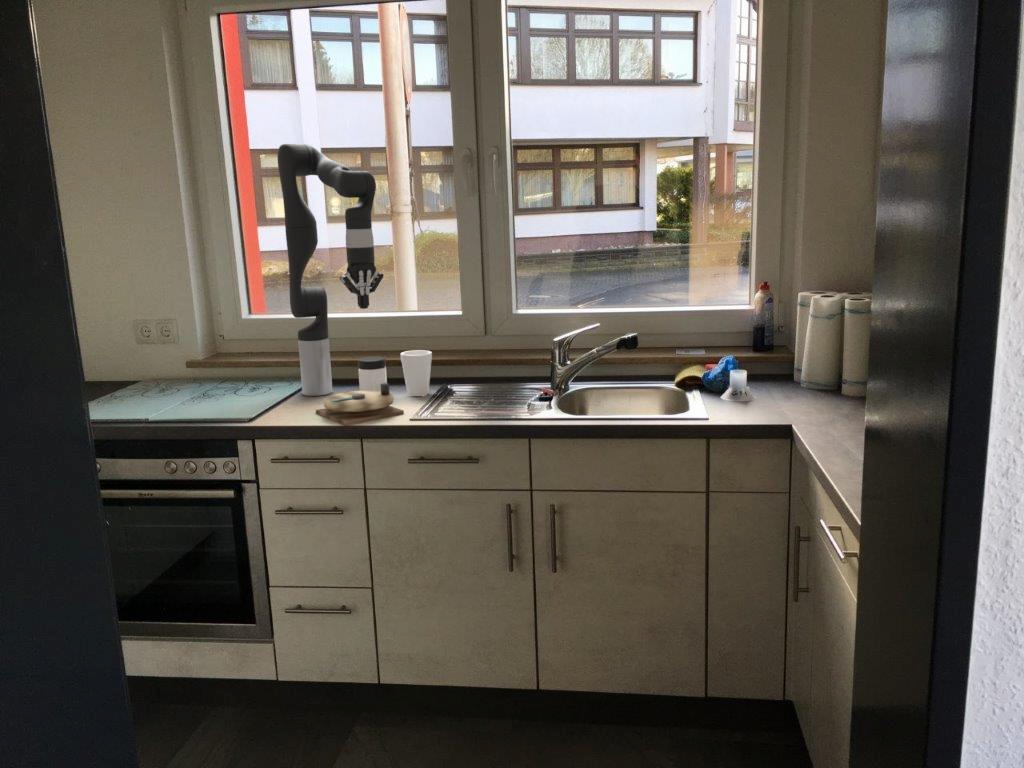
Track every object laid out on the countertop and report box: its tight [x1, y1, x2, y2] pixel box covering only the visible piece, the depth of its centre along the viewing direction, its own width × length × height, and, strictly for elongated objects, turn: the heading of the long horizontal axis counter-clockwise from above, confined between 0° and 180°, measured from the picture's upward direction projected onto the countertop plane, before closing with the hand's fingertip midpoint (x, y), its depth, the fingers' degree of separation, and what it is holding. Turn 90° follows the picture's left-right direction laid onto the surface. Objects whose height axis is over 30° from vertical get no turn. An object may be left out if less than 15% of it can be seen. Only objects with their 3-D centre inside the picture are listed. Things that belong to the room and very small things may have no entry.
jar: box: [357, 356, 388, 391], centre depth 251 cm, size 9×8×12 cm
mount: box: [315, 405, 405, 426], centre depth 233 cm, size 18×18×3 cm
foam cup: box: [400, 349, 433, 397], centre depth 254 cm, size 10×9×13 cm
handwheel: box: [323, 382, 394, 412], centre depth 232 cm, size 19×19×4 cm
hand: (363, 308), depth 233 cm, fingers closed
